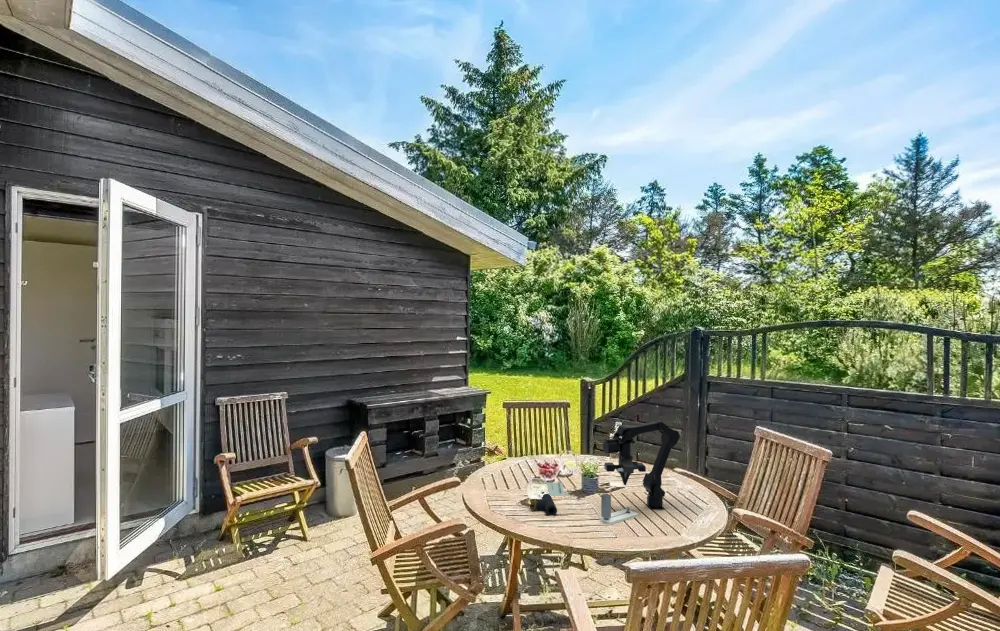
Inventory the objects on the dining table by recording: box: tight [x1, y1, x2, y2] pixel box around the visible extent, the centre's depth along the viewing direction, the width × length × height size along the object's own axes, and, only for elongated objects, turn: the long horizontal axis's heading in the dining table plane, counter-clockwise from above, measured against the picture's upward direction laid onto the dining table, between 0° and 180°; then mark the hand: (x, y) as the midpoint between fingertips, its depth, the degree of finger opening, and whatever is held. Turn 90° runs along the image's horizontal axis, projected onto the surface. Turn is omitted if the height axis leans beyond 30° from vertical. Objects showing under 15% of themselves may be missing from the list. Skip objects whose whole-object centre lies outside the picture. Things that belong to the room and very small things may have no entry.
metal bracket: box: [544, 480, 569, 496], centre depth 255 cm, size 14×6×15 cm
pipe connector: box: [529, 494, 558, 516], centre depth 233 cm, size 12×5×15 cm
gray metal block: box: [600, 492, 612, 519], centre depth 219 cm, size 3×3×11 cm
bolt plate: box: [598, 506, 639, 526], centre depth 224 cm, size 18×7×4 cm, turn 122°
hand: (624, 484), depth 233 cm, fingers closed
